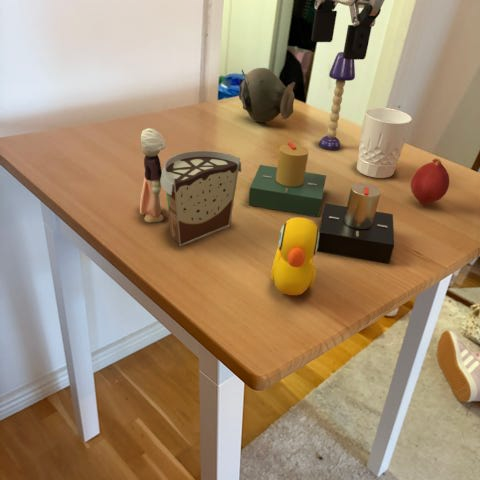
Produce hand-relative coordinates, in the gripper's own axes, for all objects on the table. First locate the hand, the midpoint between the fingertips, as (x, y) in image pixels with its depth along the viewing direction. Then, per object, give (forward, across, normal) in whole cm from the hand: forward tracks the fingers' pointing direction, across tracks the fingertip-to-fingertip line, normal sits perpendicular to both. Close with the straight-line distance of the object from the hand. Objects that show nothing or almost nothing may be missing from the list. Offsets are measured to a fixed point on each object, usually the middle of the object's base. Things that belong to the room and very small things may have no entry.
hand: (336, 49), depth 74 cm
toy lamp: (+22, +18, -12) cm, 31 cm away
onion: (+22, -8, -17) cm, 29 cm away
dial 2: (+19, -16, +1) cm, 24 cm away
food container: (+22, -8, +23) cm, 32 cm away
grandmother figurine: (+21, -4, +28) cm, 35 cm away
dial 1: (+18, -2, +5) cm, 19 cm away
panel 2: (+22, -16, +1) cm, 27 cm away
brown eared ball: (+21, +33, -3) cm, 39 cm away
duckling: (+22, -24, +15) cm, 36 cm away
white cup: (+22, +6, -15) cm, 27 cm away
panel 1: (+21, -2, +5) cm, 22 cm away
